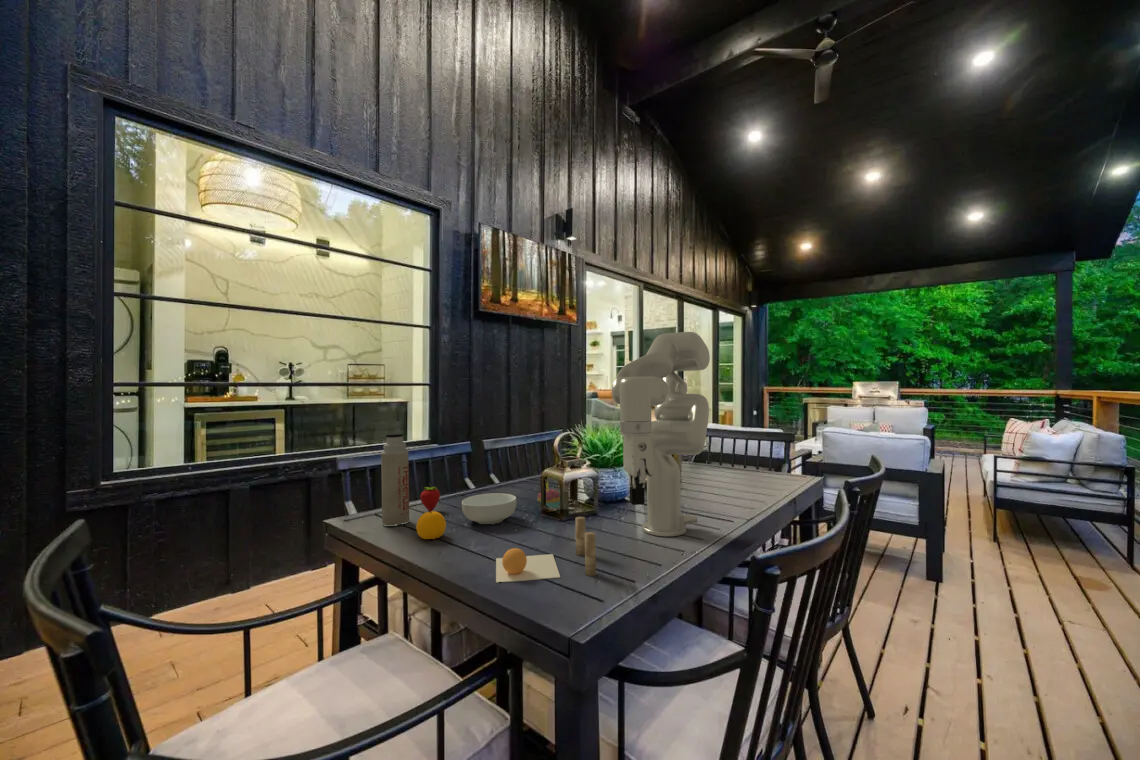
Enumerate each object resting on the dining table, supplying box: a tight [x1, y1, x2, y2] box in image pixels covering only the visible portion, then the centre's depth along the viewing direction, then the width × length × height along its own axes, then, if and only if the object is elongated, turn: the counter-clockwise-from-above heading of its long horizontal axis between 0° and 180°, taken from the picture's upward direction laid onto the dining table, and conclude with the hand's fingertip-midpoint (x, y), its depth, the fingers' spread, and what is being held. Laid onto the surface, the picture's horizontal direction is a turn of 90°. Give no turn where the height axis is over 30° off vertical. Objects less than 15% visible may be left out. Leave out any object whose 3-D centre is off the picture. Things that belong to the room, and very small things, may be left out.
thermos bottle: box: [380, 432, 410, 525], centre depth 147 cm, size 8×8×28 cm
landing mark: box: [495, 553, 561, 584], centre depth 110 cm, size 14×14×1 cm
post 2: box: [584, 531, 597, 577], centre depth 106 cm, size 2×2×9 cm
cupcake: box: [537, 481, 561, 509], centre depth 159 cm, size 9×8×12 cm
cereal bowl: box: [461, 492, 517, 525], centre depth 148 cm, size 17×17×7 cm
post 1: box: [575, 516, 586, 557], centre depth 118 cm, size 2×2×9 cm
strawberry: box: [419, 484, 441, 512], centre depth 159 cm, size 6×8×10 cm
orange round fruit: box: [415, 510, 447, 541], centre depth 132 cm, size 8×8×8 cm
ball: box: [502, 547, 527, 574], centre depth 107 cm, size 6×6×6 cm
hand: (637, 503), depth 114 cm, fingers closed
